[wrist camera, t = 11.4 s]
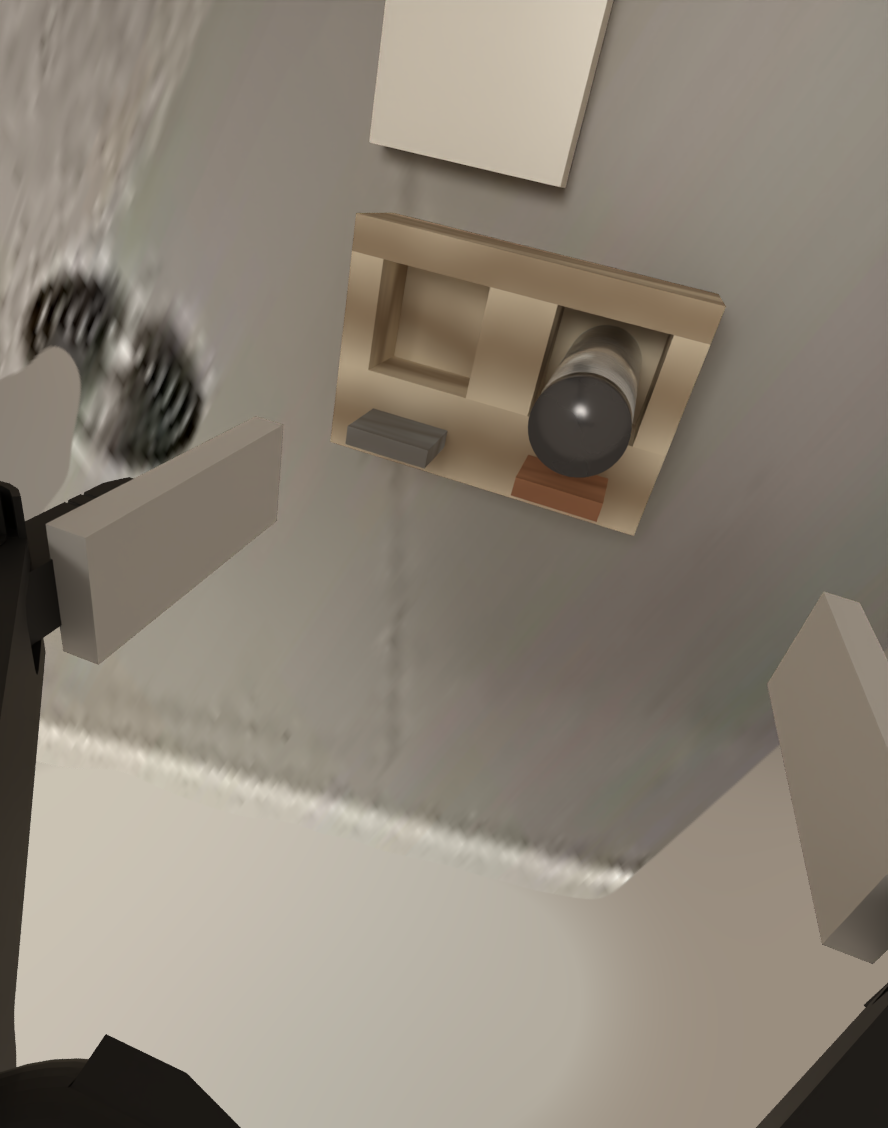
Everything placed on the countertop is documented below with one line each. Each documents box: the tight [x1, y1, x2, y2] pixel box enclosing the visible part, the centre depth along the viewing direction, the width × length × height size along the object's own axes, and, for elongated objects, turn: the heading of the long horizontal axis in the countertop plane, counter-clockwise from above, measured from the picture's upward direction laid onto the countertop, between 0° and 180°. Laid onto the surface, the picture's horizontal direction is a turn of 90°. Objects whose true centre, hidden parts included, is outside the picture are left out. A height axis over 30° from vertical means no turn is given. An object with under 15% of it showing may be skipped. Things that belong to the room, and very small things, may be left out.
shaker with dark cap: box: [528, 325, 642, 478], centre depth 31 cm, size 4×4×12 cm
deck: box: [369, 0, 614, 188], centre depth 31 cm, size 10×10×2 cm
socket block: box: [330, 213, 726, 536], centre depth 35 cm, size 12×18×8 cm, turn 78°
